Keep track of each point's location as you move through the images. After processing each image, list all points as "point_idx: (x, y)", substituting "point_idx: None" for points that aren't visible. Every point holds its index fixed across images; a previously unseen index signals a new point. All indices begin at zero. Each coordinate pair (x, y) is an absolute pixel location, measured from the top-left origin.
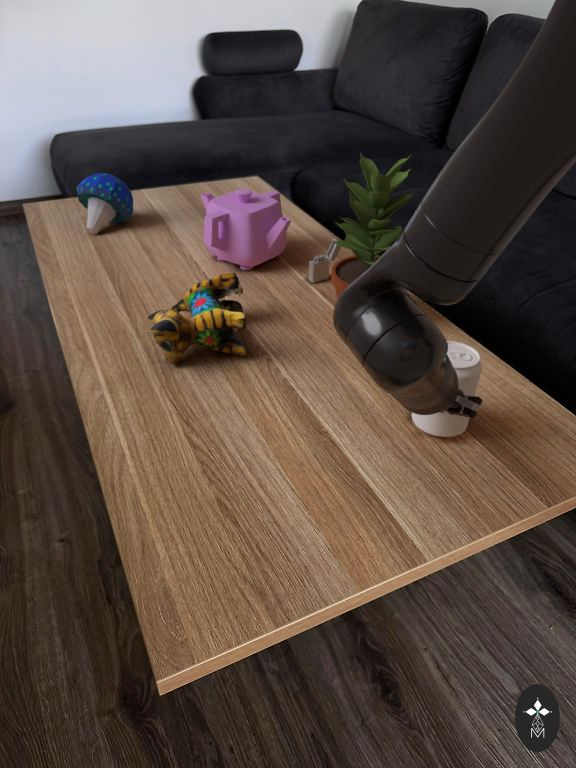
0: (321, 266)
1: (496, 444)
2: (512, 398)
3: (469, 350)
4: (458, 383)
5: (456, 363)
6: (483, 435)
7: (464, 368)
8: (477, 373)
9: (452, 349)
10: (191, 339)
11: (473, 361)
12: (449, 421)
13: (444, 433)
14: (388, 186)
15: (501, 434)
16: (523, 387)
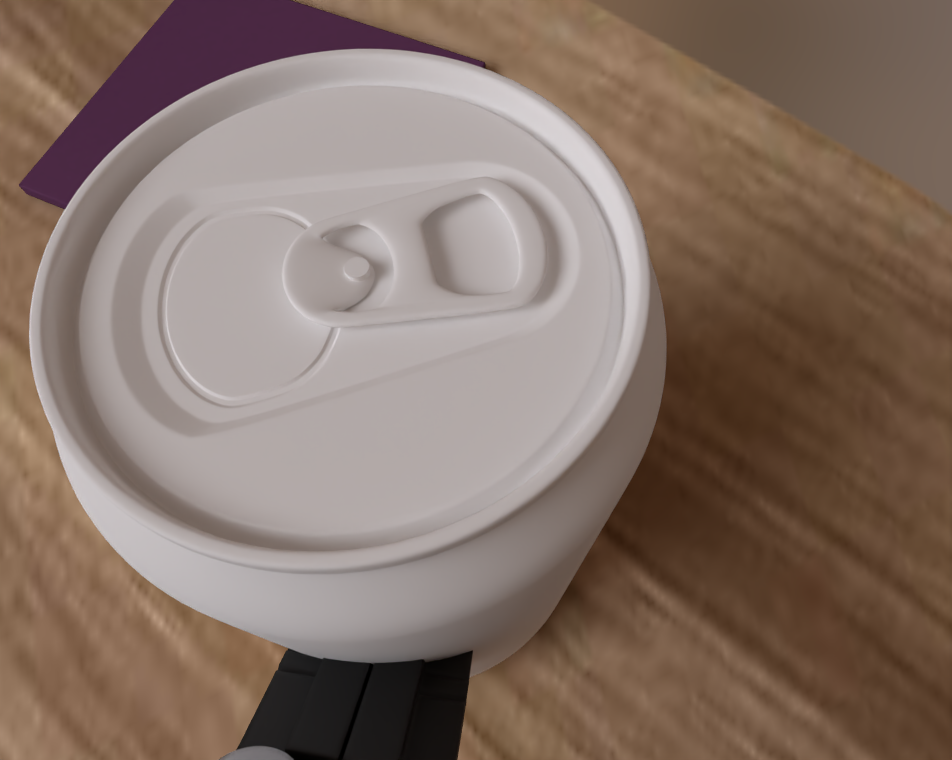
0: None
1: (743, 558)
2: (712, 191)
3: (496, 122)
4: (496, 615)
5: (409, 419)
6: (663, 514)
7: (525, 505)
8: (654, 416)
9: (327, 169)
10: None
11: (585, 297)
12: (489, 659)
13: (476, 672)
14: None
15: (743, 467)
16: (734, 105)
